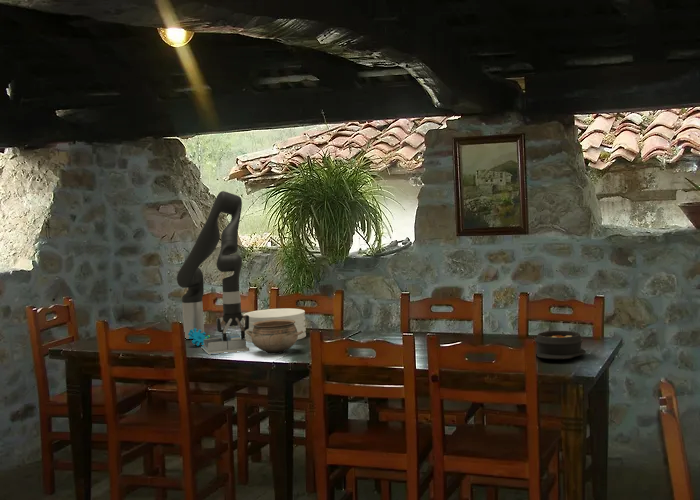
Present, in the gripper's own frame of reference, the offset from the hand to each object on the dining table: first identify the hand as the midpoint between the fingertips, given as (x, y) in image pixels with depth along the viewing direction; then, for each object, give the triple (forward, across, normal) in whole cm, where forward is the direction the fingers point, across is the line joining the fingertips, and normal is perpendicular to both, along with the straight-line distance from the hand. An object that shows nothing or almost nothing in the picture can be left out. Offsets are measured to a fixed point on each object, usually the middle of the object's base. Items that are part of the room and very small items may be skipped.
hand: (233, 340), depth 327 cm
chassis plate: (+4, +4, 0) cm, 5 cm away
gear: (+4, +11, -18) cm, 21 cm away
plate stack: (+4, -23, -18) cm, 30 cm away
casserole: (+4, -100, +89) cm, 134 cm away
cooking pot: (+4, -13, +18) cm, 23 cm away
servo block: (+2, 0, 0) cm, 2 cm away
